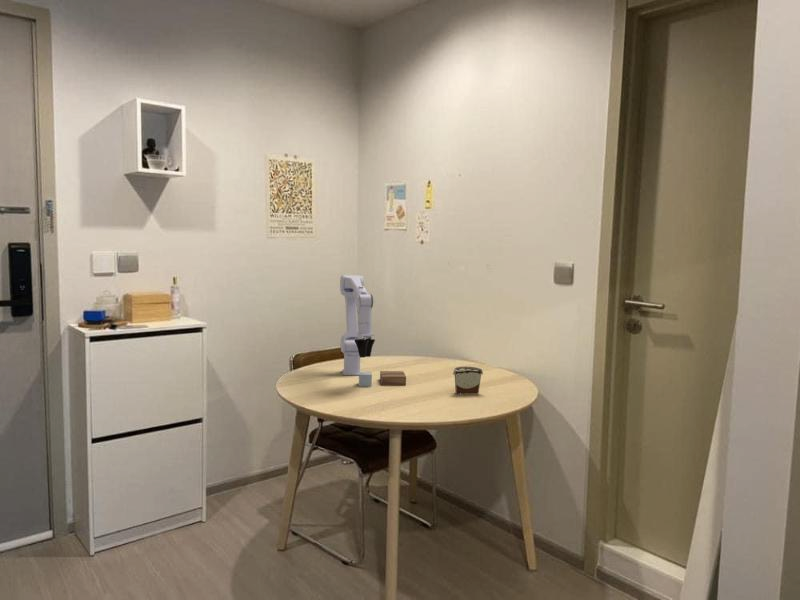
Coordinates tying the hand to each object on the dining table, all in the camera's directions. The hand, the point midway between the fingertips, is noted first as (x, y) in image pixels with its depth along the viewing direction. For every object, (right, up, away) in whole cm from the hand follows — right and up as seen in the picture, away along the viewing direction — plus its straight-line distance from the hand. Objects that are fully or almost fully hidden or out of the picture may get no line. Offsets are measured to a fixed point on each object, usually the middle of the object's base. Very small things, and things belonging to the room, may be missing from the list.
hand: (365, 357), depth 243 cm
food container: (+40, -14, -1) cm, 43 cm away
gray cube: (0, -12, +5) cm, 13 cm away
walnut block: (+11, -12, +11) cm, 20 cm away
